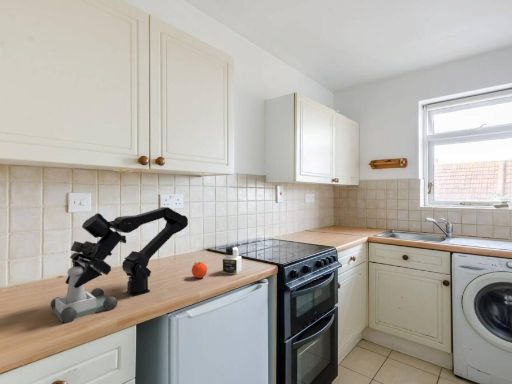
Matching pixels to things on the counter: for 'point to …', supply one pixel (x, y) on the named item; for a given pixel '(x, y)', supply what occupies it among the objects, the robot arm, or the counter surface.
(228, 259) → the medicine bottle
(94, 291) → the toy wheeled cart
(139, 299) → the counter surface
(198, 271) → the clementine
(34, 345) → the counter surface
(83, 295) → the salt shaker
